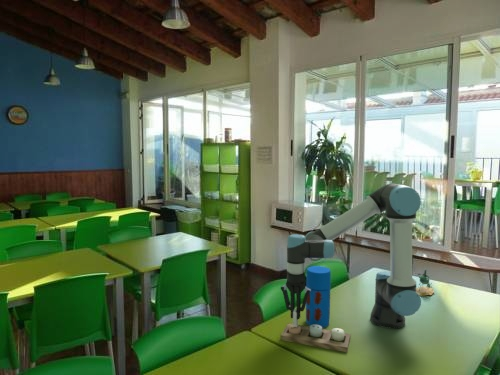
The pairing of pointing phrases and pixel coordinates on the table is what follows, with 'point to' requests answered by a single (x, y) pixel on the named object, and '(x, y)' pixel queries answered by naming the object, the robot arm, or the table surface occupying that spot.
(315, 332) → the button two
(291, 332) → the button three
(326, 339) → the board
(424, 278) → the frog figurine
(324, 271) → the thermos
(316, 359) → the table surface
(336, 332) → the button one
